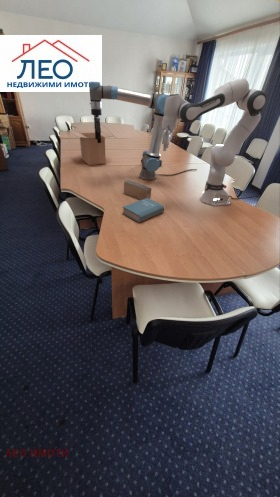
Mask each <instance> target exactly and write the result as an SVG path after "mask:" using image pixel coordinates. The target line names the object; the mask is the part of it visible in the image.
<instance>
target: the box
mask: <svg viewBox="0 0 280 497" xmlns="http://www.w3.org/2000/svg"><path fill="white" fill-rule="evenodd" d="M70 133H71V134H72V135H74V136H75V137H77V138H79V144H80V153H81V160H83V162H85V163H86V165H87V166H95V165H97V166H98V165H106V163H107V162H106V158H107V157H106V138H113V137H114V136H113V135H111V134H109V133H108V132H105V131H101V143H97V139H95V130H92V129H91V130H77V132H76V131H70Z"/></svg>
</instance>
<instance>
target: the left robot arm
mask: <svg viewBox="0 0 280 497" xmlns="http://www.w3.org/2000/svg"><path fill="white" fill-rule="evenodd" d="M88 85H89V86H88V87H89V90H88V91H89V98H90V99H89V105H90V111H91V112H90V115H92V116H93V121H94V122H93V124H94V125H93V126H94V127H93V128H94V132H95V139H97V143H101V132H102V130H101V129H102V128H101V118H100V116H102V114H103V111H102V106H103V105H102V100H117V101H121V102H126V103H130V104H135V105H140V106H146V107H148V108H149V109H152V110H153V116H154V122H153V127H152V133H151V137H150V142H149V148H148V150H143V151H142V158H143V159H142V158H141V160H142V163H141V169H140V172H139V178H140V179H142V180H146V181H154V180H156V178H157V176H163V174H161V173H160V174H159V173H158V174H157V173H156V171H158V170H159V168H160V166H159V165H160V163H159V160H161V154H160V152H161V151H160V150H161V145H162V139H163V133H164V131H163V130H164V129H163V128H162V122H163V117H164V107H165V102H166V98H167V97H168V96H169V95H170V94H166V93H152V92H151V93H150V94H149V93H145V92H141V91H135V90H130V89H126V88H121V87H118V86H114V85H102V84H101V82H100V81H90V82H89V84H88ZM188 171H197V168H192V169H186V170H182V171H179V172H177V173H172V174H165V176H167V177H168V176H176V175H179V174H182V173H185V172H188Z"/></svg>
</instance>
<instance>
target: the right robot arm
mask: <svg viewBox="0 0 280 497" xmlns="http://www.w3.org/2000/svg"><path fill="white" fill-rule="evenodd" d="M168 95H169V96H168V97H167V98H166V102H165V107H164V117H163V122H162V128H163V129H164V130H163V131H164V133H163V137H162V142H161V145H163V149H162V151H163V152H166V151H167V149H168V148H169V145H170V142H171V141H172V138H173V135H174V131H175V130H177V125H178V120H180V121H182V122H183V123H184V124H187V125H189V124H193V123H194V122H196V121H197V120H198V119H199V118H200V117H201V116H202V115H205V114H207V113H210V112H212V111H214V110H215V109H220V108H225V107H227V106H229V105H232V104H234V103H235V104H236V106H237V108H238V109H239V110H242V111H243V114H242V116H241V118H240V119H239V120H238V121H237V123H235V125H234V126H233V127H232V129H231V130H230V131H229V132H228V134H227V137H226V139H225V142H224V143H223V144H220V143H219V144H215V145H213V146H212V148H211V149H210V162H209V171H208V176H207V179H206V181H205V185H204V189H203V191H202V195H201V197H200V202H202V203H204V204H207V205H210V206H213V207H218V206H219V207H220V206H230V205H231V201H230V198H231V200H243V199H245V200H246V199H251V198H254V197H256V198H259V195H253V196H248V197H246V196H245V197H238V198H235V197H232V195H230V194H228V192H227V191H226V190H225V189H227V185H226V184H224V179H225V176H226V168H228V167H230V166H231V165H233V164H234V162H235V158H236V155H237V153H238V152H239V150H240V148H241V146H242V145H243V144H244V142H246V140H247V139H248V138H249V136H250V135H251V134H252V133H253V132H254V130H255V129H256V127H257V126H258V125H259V122H260V121H261V118H262V115H261V113H262V112H263V110H264V108H265V106H266V104H267V101H268V96H267V94H266V92H264V91H263V90H259V89H256V88H255V89H254V88H253V89H252V88H250V83H249V81H248V80H247V78H243V77H242V78H237V79H233V80H231V81H228V82H225V83H224V84H222V85H220V86H218V87H217V88H215V90H214V91H213V95H212V96H210V97H209V98H206V99H203V100H201V101H200V102H196V103H195V102H189V101H188V100H186V99H184V98H183V97H182V95H180V93H172V94H168Z"/></svg>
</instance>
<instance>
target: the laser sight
mask: <svg viewBox="0 0 280 497" xmlns="http://www.w3.org/2000/svg"><path fill="white" fill-rule="evenodd" d="M142 159H143V157H141V159H140V164H142ZM159 163H160V165H159V167H161V166H162V164H163V160H162V159H159Z"/></svg>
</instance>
